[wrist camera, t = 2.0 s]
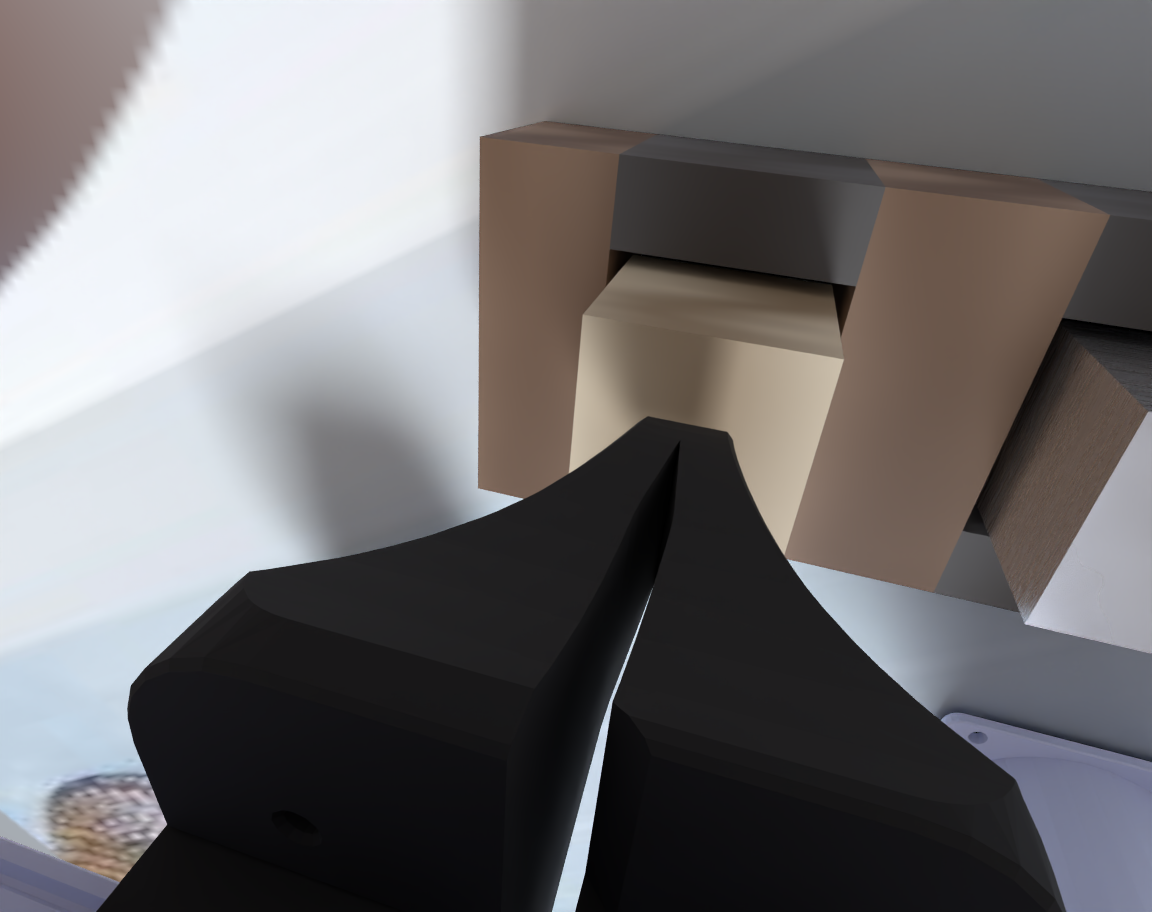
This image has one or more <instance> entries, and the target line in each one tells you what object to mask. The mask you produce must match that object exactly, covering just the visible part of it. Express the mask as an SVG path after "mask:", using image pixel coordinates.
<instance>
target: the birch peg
mask: <svg viewBox="0 0 1152 912" xmlns="http://www.w3.org/2000/svg"><path fill="white" fill-rule="evenodd" d="M843 361H844V356H843V350H842V344H841V337H840V331H839V325H838V319H837V312H836V306H835V300H834V294H833V287H832V285H829V284H823V283H816V282H809V281H803V280H796V279H790V278H783V277H777V276H770V275H763V274H757V273H750V272H744V271H737V270H731V269H724V268H717V267H711V266H704V265H698V264H691V263H685V262H678V261H671V260H665V259H658V258H652V257H645V256H639V255H632V257H631V258H630V259H629V260H628V261H627V262H626V264H625V265H624V266H623V267H622V268H621V270H620V271H619V272H618V273H617V274H616V276H615V277H614V278H613V279H612V280H611V282H610V283H609V284H608V285H607V286H606V287H605V289H604V290H603V291H602V292H601V293H600V295H599V296H598V297H597V298H596V299H595V301H594V302H593V303H592V304H591V305H590V307H589V308H588V309H587V310H586V311H585V312H584V314H583V318H582V329H581V341H580V352H579V364H578V375H577V387H576V398H575V410H574V421H573V433H572V444H571V455H570V467H569V473H570V472H572V471H574V470H575V469H577V468H578V467H580V466H581V465H582V464H584V463H585V462H587V461H588V460H590V459H591V458H592V457H594V456H595V455H597V454H598V453H599V452H601V451H602V450H604V449H605V448H606V447H608V446H609V445H610V444H612V443H613V442H614V441H615V440H617V439H618V438H619V437H621V436H622V435H623V434H624V433H626V432H627V431H628V430H629V429H630V428H632V427H633V426H634V425H635V424H637V423H638V422H639V421H641V420H642V419H644V418H645V417H647V416H650V417H655V418H660V419H665V420H670V421H675V422H680V423H685V424H690V425H695V426H701V427H706V428H711V429H716V430H721V431H726V432H728V433H729V435H730V436H731V438H732V439H733V443H734V448H735V452H736V456H737V459H738V462H739V465H740V468H741V470H742V473H743V476H744V478H745V481H746V483H747V486H748V488H749V490H750V492H751V495H752V497H753V499H754V501H755V503H756V505H757V507H758V510H759V512H760V514H761V516H762V518H763V519H764V521H765V523H766V525H767V527H768V529H769V531H770V532H771V534H772V536H773V537H774V539H775V541H776V543H777V544H778V546H779V548H780V549H781V551H782V553H783V554H785V551H786V548H787V545H788V541H789V538H790V535H791V531H792V528H793V525H794V522H795V518H796V515H797V512H798V509H799V505H800V502H801V499H802V495H803V492H804V489H805V486H806V482H807V479H808V476H809V473H810V469H811V466H812V463H813V459H814V456H815V453H816V450H817V446H818V443H819V440H820V436H821V433H822V430H823V427H824V423H825V420H826V417H827V414H828V410H829V407H830V404H831V400H832V397H833V394H834V391H835V387H836V384H837V381H838V378H839V374H840V371H841V368H842V364H843Z"/></svg>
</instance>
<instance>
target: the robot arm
mask: <svg viewBox="0 0 1152 912" xmlns="http://www.w3.org/2000/svg"><path fill="white" fill-rule="evenodd" d="M653 585H654V586H653ZM652 588H653V589H652ZM651 591H652V592H651ZM650 593H651V595H650ZM649 596H650V598H649ZM648 599H649V601H648ZM647 601H648V604H647ZM646 604H647V607H646ZM645 607H646V610H645V613H644V616H643V619H642V622H641V625H640V628H639V631H638V634H637V637H636V640H635V643H634V646H633V648H632V651H631V654H630V657H629V660H628V662H627V665H626V668H625V671H624V673H623V676H622V679H621V682H620V684H619V687H618V689H617V692H616V695H615V697H614V700H613V703H612V709H611V715H610V722H609V728H608V734H607V740H606V747H605V753H604V759H603V766H602V772H601V778H600V784H599V791H598V797H597V803H596V809H595V816H594V822H593V828H592V834H591V841H590V847H589V853H588V859H587V866H586V872H585V876H584V880H583V884H582V888H581V892H580V895H579V899H578V903H577V907H576V911H575V912H1152V762H1149V761H1145V760H1142V759H1138V758H1134V757H1130V756H1126V755H1122V754H1118V753H1115V752H1111V751H1107V750H1103V749H1099V748H1095V747H1091V746H1088V745H1084V744H1080V743H1076V742H1072V741H1068V740H1064V739H1061V738H1057V737H1053V736H1049V735H1045V734H1041V733H1037V732H1034V731H1030V730H1026V729H1022V728H1018V727H1014V726H1010V725H1007V724H1003V723H999V722H995V721H991V720H987V719H983V718H980V717H976V716H972V715H968V714H964V713H950V714H948V715H946V716H944V717H943V718H942V719H941V720H939V719H938V718H937V717H936V716H934V715H933V714H932V713H931V712H929V711H928V710H927V709H926V708H925V707H923V706H922V705H921V704H920V703H919V702H918V701H916V700H915V699H914V698H913V697H912V696H911V695H910V694H909V693H908V692H907V691H905V690H904V689H903V688H902V687H901V686H900V685H899V684H898V683H897V682H896V681H894V680H893V679H892V678H891V677H890V676H889V675H888V674H887V673H886V672H884V671H883V670H882V669H881V668H880V667H879V666H878V665H877V664H876V663H875V662H874V661H873V660H872V659H871V658H870V657H869V656H868V655H867V654H866V653H865V652H864V651H863V650H862V649H861V648H860V647H859V646H858V645H857V644H856V643H855V642H854V641H853V640H852V639H851V638H850V637H849V636H848V635H847V634H846V632H845V631H844V630H843V629H842V628H841V627H840V626H839V625H838V624H837V623H836V622H835V620H834V619H833V618H832V617H831V616H830V615H829V614H828V613H827V612H826V611H825V609H824V608H823V607H822V606H821V605H820V603H819V602H818V601H817V600H816V599H815V597H814V596H813V595H812V594H811V593H810V591H809V590H808V589H807V588H806V586H805V585H804V583H803V582H802V581H801V579H800V578H799V577H798V575H797V574H796V572H795V571H794V570H793V568H792V567H791V565H790V564H789V562H788V561H787V559H786V557H785V556H784V554H783V553H782V551H781V549H780V548H779V546H778V544H777V543H776V541H775V539H774V537H773V536H772V534H771V532H770V531H769V529H768V527H767V525H766V523H765V521H764V519H763V518H762V516H761V514H760V512H759V510H758V507H757V505H756V503H755V501H754V499H753V497H752V495H751V492H750V490H749V488H748V486H747V483H746V481H745V478H744V476H743V473H742V470H741V468H740V465H739V462H738V459H737V456H736V452H735V448H734V443H733V439H732V438H731V436H730V435H729V433H728V432H726V431H721V430H716V429H711V428H706V427H701V426H695V425H690V424H685V423H680V422H675V421H670V420H665V419H660V418H655V417H650V416H647V417H645V418H644V419H642V420H641V421H639V422H638V423H637V424H635V425H634V426H633V427H632V428H630V429H629V430H628V431H627V432H626V433H624V434H623V435H622V436H621V437H619V438H618V439H617V440H615V441H614V442H613V443H612V444H610V445H609V446H608V447H606V448H605V449H604V450H602V451H601V452H599V453H598V454H597V455H595V456H594V457H592V458H591V459H590V460H588V461H587V462H585V463H584V464H582V465H581V466H580V467H578V468H577V469H575V470H574V471H572V472H570V473H569V474H567V475H565V476H564V477H562V478H560V479H559V480H557V481H556V482H554V483H552V484H551V485H549V486H547V487H546V488H544V489H542V490H541V491H539V492H537V493H535V494H533V495H531V496H529V497H527V498H525V499H523V500H521V501H519V502H517V503H514V504H512V505H510V506H508V507H506V508H503V509H501V510H499V511H497V512H494V513H492V514H489V515H487V516H484V517H482V518H479V519H476V520H473V521H470V522H467V523H465V524H462V525H459V526H456V527H453V528H450V529H448V530H445V531H442V532H439V533H436V534H433V535H430V536H427V537H423V538H420V539H416V540H413V541H409V542H405V543H402V544H398V545H394V546H390V547H386V548H382V549H377V550H373V551H369V552H365V553H360V554H355V555H351V556H346V557H341V558H335V559H329V560H323V561H317V562H311V563H304V564H298V565H292V566H286V567H280V568H274V569H267V570H259V571H251V572H249V573H247V574H246V575H245V576H244V577H243V578H242V579H240V580H239V581H238V582H237V583H236V584H235V585H234V586H232V587H231V588H230V589H229V590H228V591H227V592H226V593H225V594H224V595H223V596H221V597H220V598H219V599H218V600H217V601H216V602H215V603H214V604H213V605H212V606H211V607H210V608H209V609H207V610H206V611H205V612H204V613H203V614H202V615H201V616H200V617H199V618H198V619H197V620H196V621H195V622H194V623H193V624H192V625H190V626H189V627H188V628H187V629H186V630H185V631H184V632H183V633H182V634H181V635H180V636H179V637H178V638H177V639H176V640H175V641H173V642H172V643H171V644H170V645H169V646H168V647H167V648H166V649H165V650H164V651H163V652H162V653H161V654H160V655H159V656H158V657H157V658H155V659H154V660H153V661H152V662H151V663H150V664H149V665H148V666H147V667H146V668H145V669H144V670H143V671H142V673H141V674H140V675H139V676H138V678H137V679H136V680H135V681H134V683H133V684H132V685H131V688H130V695H129V701H128V708H127V710H128V721H129V725H130V729H131V733H132V737H133V741H134V745H135V747H136V749H137V752H138V754H139V757H140V759H141V762H142V764H143V766H144V769H145V771H146V774H147V776H148V779H149V781H150V783H151V786H152V788H153V791H154V793H155V796H156V798H157V801H158V803H159V805H160V808H161V810H162V813H163V815H164V818H165V820H166V822H167V826H166V827H165V828H164V829H163V831H162V832H161V833H160V834H159V835H158V837H157V838H156V839H155V840H154V842H153V843H152V844H151V845H150V846H149V848H148V849H147V850H146V851H145V853H144V854H143V855H142V856H141V857H140V859H139V860H138V861H137V862H136V864H135V865H134V866H133V867H132V868H131V870H130V871H129V872H128V873H127V874H126V876H125V877H124V878H123V879H122V881H121V882H118V881H115V880H112V879H110V878H107V877H105V876H102V875H100V874H97V873H94V872H92V871H89V870H87V869H84V868H81V867H79V866H76V865H74V864H71V863H69V862H66V861H63V860H61V859H58V858H56V857H53V856H50V855H48V854H45V853H43V852H40V851H38V850H35V849H32V848H30V847H27V846H25V845H22V844H19V843H17V842H14V841H12V840H9V839H6V838H4V837H1V836H0V912H552V909H553V905H554V901H555V897H556V894H557V890H558V886H559V882H560V878H561V874H562V871H563V867H564V863H565V859H566V855H567V851H568V848H569V844H570V840H571V836H572V833H573V829H574V825H575V821H576V818H577V814H578V810H579V806H580V803H581V799H582V795H583V791H584V787H585V784H586V780H587V776H588V773H589V769H590V765H591V762H592V758H593V754H594V751H595V747H596V743H597V739H598V736H599V732H600V728H601V725H602V722H603V719H604V716H605V713H606V710H607V707H608V704H609V701H610V698H611V695H612V693H613V690H614V688H615V685H616V682H617V680H618V677H619V675H620V672H621V669H622V667H623V664H624V662H625V659H626V656H627V654H628V651H629V648H630V646H631V643H632V641H633V638H634V635H635V633H636V630H637V628H638V625H639V622H640V620H641V617H642V615H643V612H644V609H645ZM973 732H980V733H973Z"/></svg>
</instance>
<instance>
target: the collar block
mask: <svg viewBox="0 0 1152 912" xmlns="http://www.w3.org/2000/svg"><path fill="white" fill-rule="evenodd" d="M642 254H646V255H652V256H659V257H665V258H672V259H679V260H685V261H692V262H698V263H705V264H711V265H718V266H725V267H731V268H738V269H744V270H751V271H758V272H764V273H771V274H777V275H784V276H791V277H797V278H804V279H810V280H817V281H824V282H830V283H831V285H832V287H833V294H834V300H835V306H836V312H837V319H838V325H839V331H840V337H841V344H842V350H843V356H844V361H843V364H842V368H841V371H840V374H839V378H838V381H837V384H836V387H835V391H834V394H833V397H832V400H831V404H830V407H829V410H828V414H827V417H826V420H825V423H824V427H823V430H822V433H821V436H820V440H819V443H818V446H817V450H816V453H815V456H814V459H813V463H812V466H811V469H810V473H809V476H808V479H807V482H806V486H805V489H804V492H803V495H802V499H801V502H800V505H799V509H798V512H797V515H796V518H795V522H794V525H793V528H792V531H791V535H790V538H789V541H788V545H787V548H786V551H785V554H784V556H785V557H786V559H789V560H793V561H798V562H802V563H807V564H811V565H815V566H820V567H824V568H828V569H833V570H837V571H841V572H846V573H850V574H855V575H859V576H863V577H868V578H872V579H876V580H881V581H885V582H889V583H894V584H898V585H902V586H907V587H911V588H916V589H920V590H924V591H929V592H933V593H937V594H942V595H946V596H950V597H955V598H959V599H963V600H968V601H972V602H977V603H981V604H985V605H990V606H994V607H998V608H1003V609H1007V610H1011V611H1016V612H1020V611H1019V609H1018V606H1017V604H1016V601H1015V599H1014V596H1013V594H1012V591H1011V589H1010V586H1009V584H1008V581H1007V579H1006V577H1005V574H1004V572H1003V569H1002V567H1001V564H1000V562H999V559H998V557H997V554H996V552H995V549H994V547H993V545H992V542H991V540H990V537H989V535H988V532H987V530H986V527H985V525H984V522H983V520H982V517H981V515H980V512H979V510H978V508H977V505H976V501H977V499H978V497H979V494H980V492H981V490H982V488H983V486H984V484H985V482H986V479H987V477H988V475H989V473H990V471H991V469H992V467H993V465H994V462H995V460H996V458H997V456H998V454H999V452H1000V450H1001V447H1002V445H1003V443H1004V441H1005V439H1006V437H1007V435H1008V433H1009V430H1010V428H1011V426H1012V424H1013V422H1014V420H1015V418H1016V415H1017V413H1018V411H1019V409H1020V407H1021V405H1022V403H1023V400H1024V398H1025V396H1026V394H1027V392H1028V390H1029V388H1030V386H1031V383H1032V381H1033V379H1034V377H1035V375H1036V373H1037V371H1038V368H1039V366H1040V364H1041V362H1042V360H1043V358H1044V356H1045V354H1046V351H1047V349H1048V347H1049V345H1050V343H1051V341H1052V339H1053V336H1054V334H1055V332H1056V330H1057V328H1058V326H1059V324H1060V322H1061V319H1062V318H1068V319H1074V320H1081V321H1087V322H1094V323H1101V324H1107V325H1114V326H1120V327H1127V328H1134V329H1140V330H1147V331H1152V192H1147V191H1138V190H1130V189H1121V188H1112V187H1104V186H1095V185H1087V184H1078V183H1070V182H1061V181H1053V180H1044V179H1035V178H1027V177H1018V176H1010V175H1001V174H993V173H984V172H975V171H967V170H958V169H950V168H941V167H933V166H924V165H916V164H907V163H898V162H890V161H881V160H873V159H864V158H856V157H847V156H839V155H830V154H821V153H813V152H804V151H796V150H787V149H779V148H770V147H762V146H753V145H744V144H736V143H727V142H719V141H710V140H702V139H693V138H685V137H676V136H667V135H659V134H650V133H642V132H633V131H625V130H616V129H608V128H599V127H590V126H582V125H573V124H565V123H556V122H548V121H544V122H540V123H536V124H531V125H527V126H523V127H519V128H515V129H511V130H507V131H502V132H498V133H494V134H490V135H486V136H482V137H480V230H479V430H478V488H480V489H484V490H488V491H493V492H497V493H501V494H506V495H510V496H514V497H519V498H523V499H525V498H527V497H529V496H531V495H533V494H535V493H537V492H539V491H541V490H542V489H544V488H546V487H547V486H549V485H551V484H552V483H554V482H556V481H557V480H559V479H560V478H562V477H564V476H565V475H567V474H569V467H570V455H571V444H572V433H573V421H574V410H575V398H576V387H577V375H578V364H579V352H580V341H581V329H582V318H583V314H584V312H585V311H586V310H587V309H588V308H589V307H590V305H591V304H592V303H593V302H594V301H595V299H596V298H597V297H598V296H599V295H600V293H601V292H602V291H603V290H604V289H605V287H606V286H607V285H608V284H609V283H610V282H611V280H612V279H613V278H614V277H615V276H616V274H617V273H618V272H619V271H620V270H621V268H622V267H623V266H624V265H625V264H626V262H627V261H628V260H629V259H630V258H631V257H632V255H639V256H641V255H642Z"/></svg>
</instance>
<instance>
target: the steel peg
mask: <svg viewBox="0 0 1152 912" xmlns="http://www.w3.org/2000/svg"><path fill="white" fill-rule="evenodd" d="M976 505H977V508H978V510H979V512H980V515H981V517H982V520H983V522H984V525H985V527H986V530H987V532H988V535H989V537H990V540H991V542H992V545H993V547H994V549H995V552H996V554H997V557H998V559H999V562H1000V564H1001V567H1002V569H1003V572H1004V574H1005V577H1006V579H1007V581H1008V584H1009V586H1010V589H1011V591H1012V594H1013V596H1014V599H1015V601H1016V604H1017V606H1018V609H1019V611H1020V614H1021V616H1022V618H1023V621H1024V623H1025V624H1026V625H1030V626H1034V627H1039V628H1043V629H1047V630H1052V631H1056V632H1060V633H1065V634H1069V635H1073V636H1077V637H1082V638H1086V639H1090V640H1095V641H1099V642H1103V643H1108V644H1112V645H1116V646H1121V647H1125V648H1129V649H1133V650H1138V651H1142V652H1146V653H1151V654H1152V334H1151V333H1144V332H1138V331H1131V330H1125V329H1118V328H1112V327H1105V326H1098V325H1092V324H1085V323H1079V322H1072V321H1066V320H1061V322H1060V324H1059V326H1058V328H1057V330H1056V332H1055V334H1054V336H1053V339H1052V341H1051V343H1050V345H1049V347H1048V349H1047V351H1046V354H1045V356H1044V358H1043V360H1042V362H1041V364H1040V366H1039V368H1038V371H1037V373H1036V375H1035V377H1034V379H1033V381H1032V383H1031V386H1030V388H1029V390H1028V392H1027V394H1026V396H1025V398H1024V400H1023V403H1022V405H1021V407H1020V409H1019V411H1018V413H1017V415H1016V418H1015V420H1014V422H1013V424H1012V426H1011V428H1010V430H1009V433H1008V435H1007V437H1006V439H1005V441H1004V443H1003V445H1002V447H1001V450H1000V452H999V454H998V456H997V458H996V460H995V462H994V465H993V467H992V469H991V471H990V473H989V475H988V477H987V479H986V482H985V484H984V486H983V488H982V490H981V492H980V494H979V497H978V499H977V501H976Z"/></svg>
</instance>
